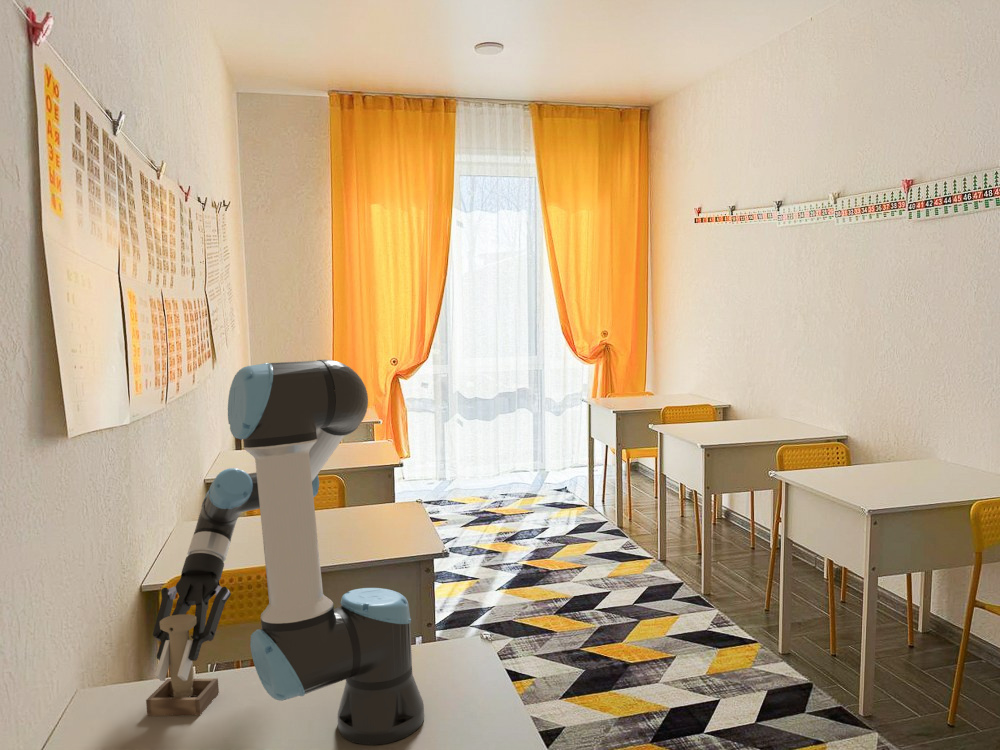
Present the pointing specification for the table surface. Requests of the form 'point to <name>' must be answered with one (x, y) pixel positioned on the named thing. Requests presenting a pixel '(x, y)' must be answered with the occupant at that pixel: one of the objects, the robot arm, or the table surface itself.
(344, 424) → the robot arm
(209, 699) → the socket block
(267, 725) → the table surface
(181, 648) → the handle
